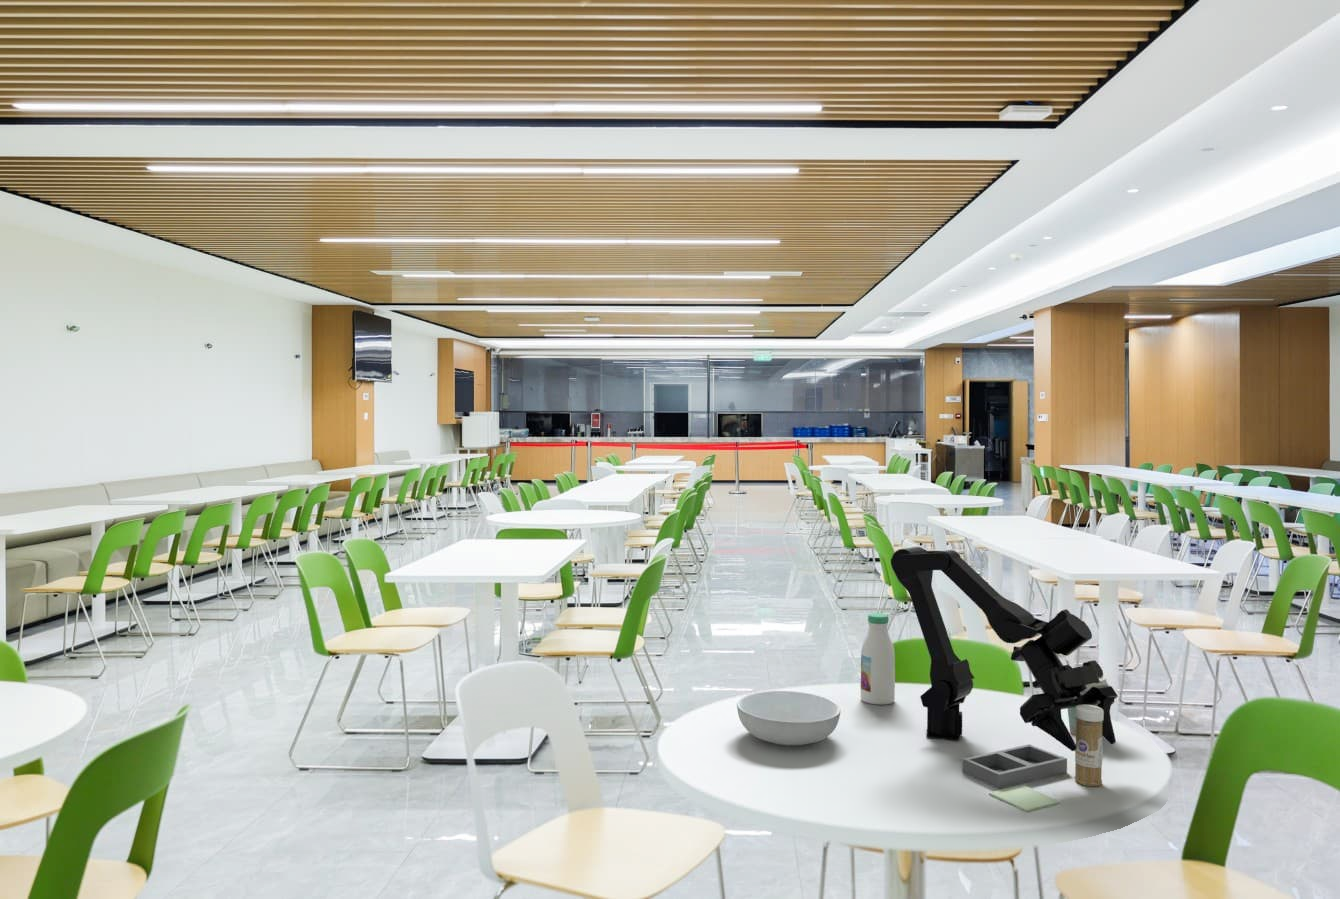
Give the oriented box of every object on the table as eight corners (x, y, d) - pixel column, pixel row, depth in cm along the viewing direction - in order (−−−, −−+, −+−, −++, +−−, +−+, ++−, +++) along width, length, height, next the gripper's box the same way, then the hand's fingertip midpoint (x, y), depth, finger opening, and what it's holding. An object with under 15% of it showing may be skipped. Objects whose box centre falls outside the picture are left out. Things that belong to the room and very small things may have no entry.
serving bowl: (793, 765, 170) (793, 728, 170) (715, 736, 185) (715, 703, 185) (861, 740, 183) (861, 706, 183) (783, 715, 199) (783, 684, 199)
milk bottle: (896, 697, 213) (896, 612, 212) (892, 707, 205) (893, 619, 205) (862, 694, 215) (863, 610, 215) (858, 703, 208) (859, 616, 208)
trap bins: (1029, 757, 174) (1029, 744, 174) (1066, 772, 166) (1067, 758, 166) (962, 772, 166) (962, 758, 166) (998, 788, 158) (999, 774, 158)
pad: (1022, 786, 160) (1022, 784, 160) (1060, 802, 152) (1060, 801, 152) (989, 794, 156) (989, 792, 156) (1026, 811, 149) (1026, 810, 149)
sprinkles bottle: (1071, 782, 161) (1072, 707, 161) (1078, 775, 165) (1079, 701, 164) (1098, 789, 158) (1099, 713, 158) (1105, 781, 162) (1106, 706, 161)
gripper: (1031, 650, 161) (1080, 730, 151) (1109, 641, 168) (1161, 717, 158) (999, 683, 169) (1044, 761, 159) (1075, 673, 176) (1123, 748, 166)
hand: (1094, 746), depth 160 cm, fingers open, 9 cm apart
